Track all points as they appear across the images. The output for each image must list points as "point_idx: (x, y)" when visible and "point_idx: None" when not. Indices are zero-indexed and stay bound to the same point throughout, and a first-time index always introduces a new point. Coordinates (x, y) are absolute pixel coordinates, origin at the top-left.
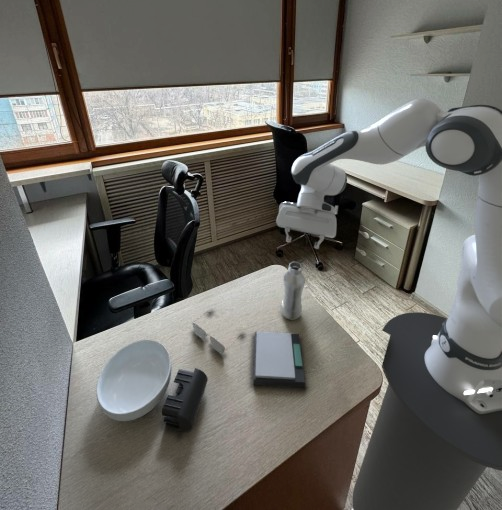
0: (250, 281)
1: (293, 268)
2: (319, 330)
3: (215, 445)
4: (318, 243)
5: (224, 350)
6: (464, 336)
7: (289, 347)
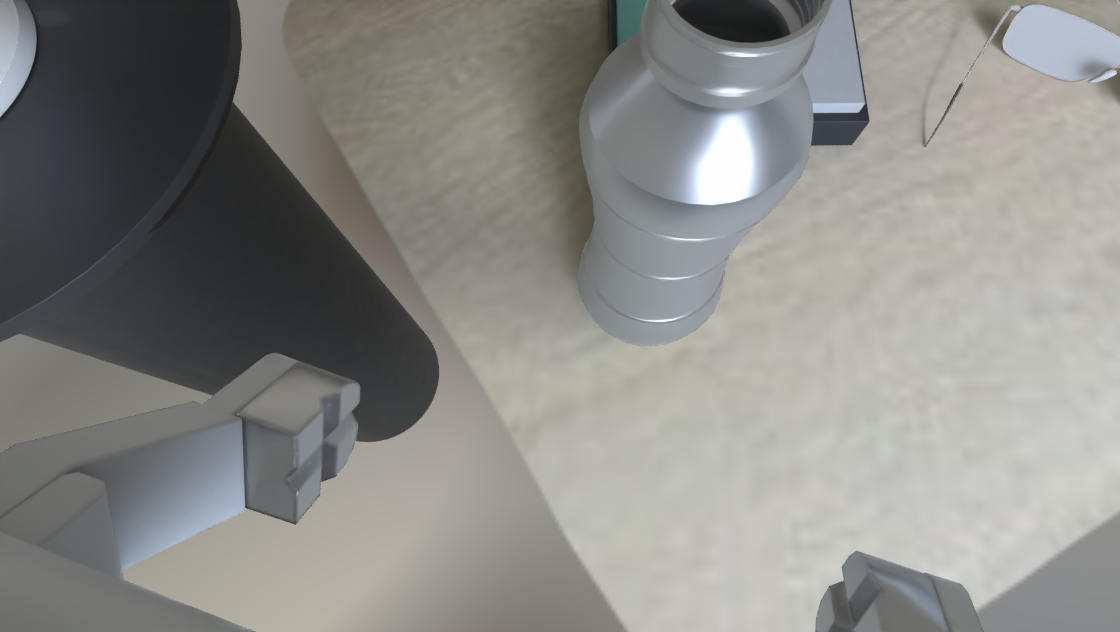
0: (971, 585)
1: (734, 108)
2: (484, 199)
3: None
4: (232, 399)
5: (1013, 19)
6: None
7: None
